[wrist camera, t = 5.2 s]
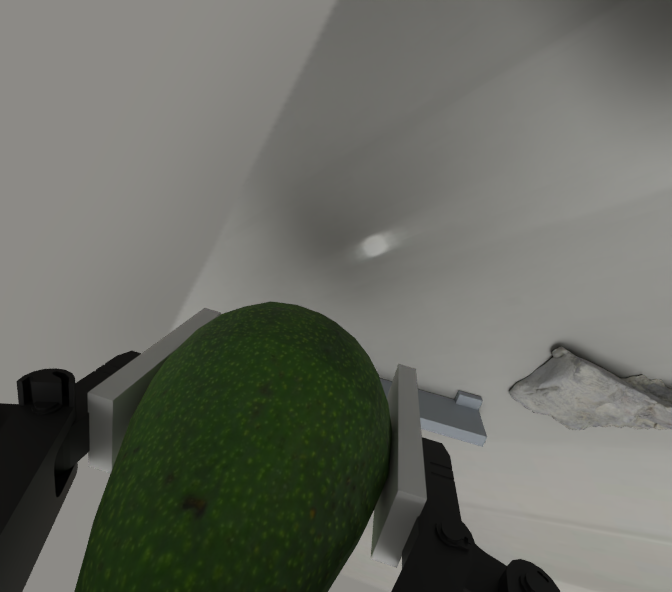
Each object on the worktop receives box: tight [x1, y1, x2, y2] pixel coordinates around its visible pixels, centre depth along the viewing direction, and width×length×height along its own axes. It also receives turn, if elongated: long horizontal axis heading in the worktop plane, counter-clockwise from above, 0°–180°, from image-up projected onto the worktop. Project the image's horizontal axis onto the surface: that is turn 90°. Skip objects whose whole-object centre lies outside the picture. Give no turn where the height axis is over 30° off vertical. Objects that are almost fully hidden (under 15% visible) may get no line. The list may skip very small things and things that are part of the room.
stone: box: [510, 346, 672, 430], centre depth 29 cm, size 6×12×4 cm, turn 72°
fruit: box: [75, 302, 392, 592], centre depth 11 cm, size 8×8×12 cm
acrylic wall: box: [380, 379, 487, 447], centre depth 32 cm, size 3×22×4 cm, turn 78°
